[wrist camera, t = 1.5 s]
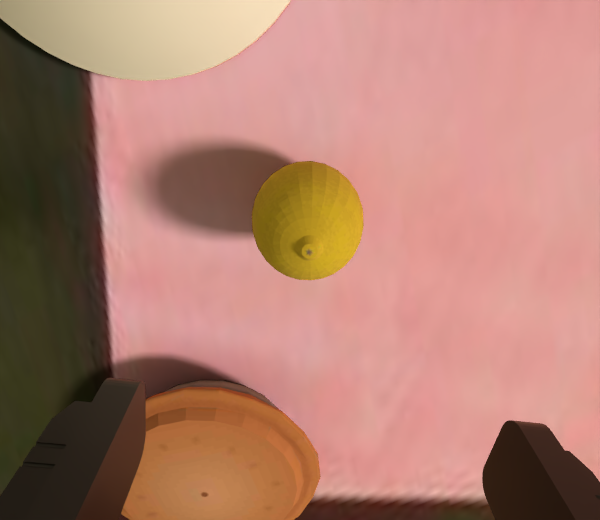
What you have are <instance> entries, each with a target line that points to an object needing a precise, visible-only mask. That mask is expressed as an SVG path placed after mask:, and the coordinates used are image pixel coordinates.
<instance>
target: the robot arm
mask: <svg viewBox="0 0 600 520" xmlns="http://www.w3.org/2000/svg"><path fill="white" fill-rule="evenodd" d="M145 437H146V395H145V383H144V382H143V381H135V380H125V379H115V378H107V379H106V380H105V381H104V382H103V383H102V385H101V387H100V389H99V390H98V392H97V394H96V395H95V397H94V399H93V401H92V402H82V401H74V402H73V403H71V404H70V405H69V406H68V407H66V408H65V409H64V410H63V411H61V412H60V413H59V414H57V415H56V416H55V417H54V418H52V419H51V421H50V422H49V424H48V425H47V427H46V428H45V430H44V431H43V433H42V434H41V436H40V437H39V439H38V440H37V442H36V446H35V447H33V448H32V449H31V451H30V452H29V454H28V455H27V457H26V458H25V460H24V461H23V465H22V467H19V469H18V470H17V472H16V473H15V475H14V476H13V478H12V479H11V481H10V482H9V484H8V485H7V487H6V488H5V490H4V491H3V493H2V494H1V496H0V520H119V517H120V515H121V512H122V509H123V507H124V504H125V501H126V499H127V496H128V493H129V491H130V488H131V486H132V483H133V480H134V478H135V475H136V472H137V470H138V467H139V464H140V461H141V458H142V454H143V450H144V444H145ZM482 479H483V489H484V493H485V496H486V499H487V501H488V504H489V506H490V508H491V510H492V513H493V515H494V517H495V520H600V482H599V481H598V479H597V478H596V476H595V475H594V474H593V472H592V471H591V470H589V469H588V468H587V467H586V466H585V465H584V464H583V463H582V462H581V461H580V460H578V459H577V458H576V457H575V456H574V455H573V454H572V453H571V452H570V451H565V450H564V449H563V448H562V446H561V445H560V443H559V442H558V440H557V439H556V437H555V436H554V434H553V433H552V431H551V430H550V429H549V428H548V427H547V426H546V425H544V424H540V423H530V422H521V421H507V422H505V423H504V425H503V426H502V428H501V431H500V433H499V435H498V437H497V439H496V442H495V444H494V446H493V448H492V450H491V453H490V455H489V457H488V459H487V461H486V464H485V466H484V469H483V478H482Z"/></svg>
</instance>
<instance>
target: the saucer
mask: <svg viewBox="0 0 600 520" xmlns="http://www.w3.org/2000/svg"><path fill="white" fill-rule="evenodd" d="M290 2H291V0H0V18H1V19H2V20H3V21H4V22H6V23H7V24H8V25H9V26H11V27H12V28H13V29H14V30H16V31H17V32H18V33H19V34H20V35H22V36H23V37H24V38H26V39H27V40H29V41H31V42H32V43H34V44H35V45H37V46H38V47H40V48H41V49H43V50H44V51H46V52H48V53H49V54H51V55H54V56H56V57H58V58H60V59H62V60H64V61H66V62H68V63H70V64H72V65H74V66H77V67H80V68H83V69H85V70H88V71H91V72H94V73H97V74H101V75H106V76H111V77H115V78H120V79H130V80H142V81H150V80H167V79H173V78H178V77H183V76H188V75H192V74H197V73H200V72H202V71H205V70H208V69H210V68H213V67H216V66H218V65H220V64H222V63H224V62H226V61H228V60H229V59H231V58H233V57H235V56H237V55H238V54H240V53H241V52H242V51H244V50H245V49H246V48H248V47H249V46H250V45H252V44H253V43H254V42H256V41H257V40H258V39H259V38H260V37H261V36H262V35H263V34H264V33H265V32H266V31H267V30H268V29H269V28H270V27H271V26H272V25H273V24H274V23H275V22H276V20H277V19H278V18H279V17H280V15H281V14H282V13H283V11H284V10H285V9H286V7H287V6H288V5H289V4H290Z"/></svg>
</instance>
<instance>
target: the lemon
mask: <svg viewBox="0 0 600 520" xmlns="http://www.w3.org/2000/svg"><path fill="white" fill-rule="evenodd" d="M252 230H253V234H254V237H255V241H256V244H257V247H258V249H259V250H260V252H261V253H262V255H263V256H264V258H265V259H266V261H267V262H268V263H269V264H270V265H271V266H272V267H274V268H275V269H276V270H277V271H279V272H281V273H283V274H284V275H286V276H288V277H292V278H295V279H299V280H315V279H321V278H325V277H327V276H329V275H332V274H334V273H336V272H337V271H338V270H340V269H341V268H343V267H344V266H345V265H346V264H347V263H348V261H349V260H350V259H351V258H352V257H353V255H354V253H355V251H356V249H357V247H358V245H359V243H360V240H361V236H362V231H363V208H362V205H361V202H360V199H359V196H358V193H357V192H356V190H355V189H354V187H353V186H352V184H351V183H350V181H349V180H348V179H347V178H346V177H345V176H344V175H342V174H341V173H340V172H339V171H338V170H336V169H334V168H332V167H330V166H328V165H326V164H323V163H318V162H313V161H305V162H296V163H293V164H289V165H286V166H284V167H282V168H281V169H279V170H278V171H276V172H275V173H273V174H272V175H271V176H270V177H269V178H268V179H267V180H266V181H265V182H264V183H263V185H262V187H261V188H260V190H259V192H258V194H257V196H256V198H255V202H254V206H253V211H252Z"/></svg>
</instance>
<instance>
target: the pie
mask: <svg viewBox="0 0 600 520" xmlns="http://www.w3.org/2000/svg"><path fill="white" fill-rule="evenodd" d="M319 479H320V469H319V461H318V453H317V452H316V450H315V449H314V447H313V445H312V444H311V442H310V441H309V439H308V437H307V436H306V434H305V433H304V431H303V430H301V429H300V428H299V427H298V426H297V425H296V424H295V423H294V422H293V421H292V420H291V419H290V418H289V417H288V416H287V415H285V414H284V413H283V412H282V411H281V410H279V409H278V408H277V407H276V406H275V405H274V404H272V403H271V402H270V401H269V400H268V399H267V398H266V397H265V396H263V395H262V394H260V393H258V392H256V391H254V390H252V389H250V388H248V387H246V386H243V385H239V384H235V383H231V382H227V381H220V380H198V381H194V382H189V383H184V384H180V385H177V386H175V387H173V388H171V389H169V390H167V391H165V392H163V393H159V394H156V395H154V396H151V397H149V398H147V399H146V437H145V444H144V450H143V454H142V458H141V461H140V464H139V467H138V470H137V472H136V475H135V478H134V480H133V483H132V486H131V488H130V491H129V493H128V496H127V499H126V501H125V504H124V507H123V509H122V512H121V514H122V515H124V516H125V517H127V518H128V519H130V520H294V519H295V518H296V517H298V516H299V515H300V514H301V513H302V511H303V510H304V508H305V507H306V506H307V504H308V503H309V502H310V500H311V499H312V497H313V495H314V493H315V490H316V487H317V485H318V482H319Z"/></svg>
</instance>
